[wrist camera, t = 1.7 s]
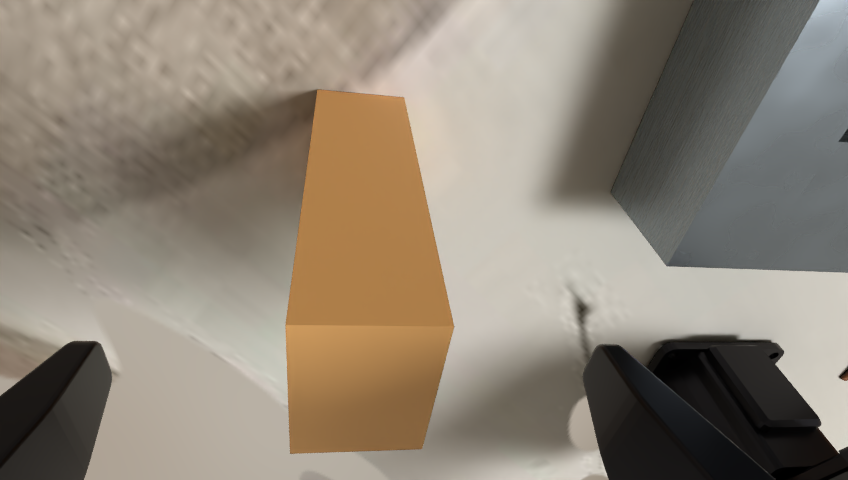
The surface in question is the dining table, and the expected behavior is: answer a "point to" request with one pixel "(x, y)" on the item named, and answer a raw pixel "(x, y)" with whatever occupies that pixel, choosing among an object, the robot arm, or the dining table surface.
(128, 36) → the dining table surface
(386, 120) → the tan wooden beam
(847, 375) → the sunglasses case
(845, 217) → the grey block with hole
